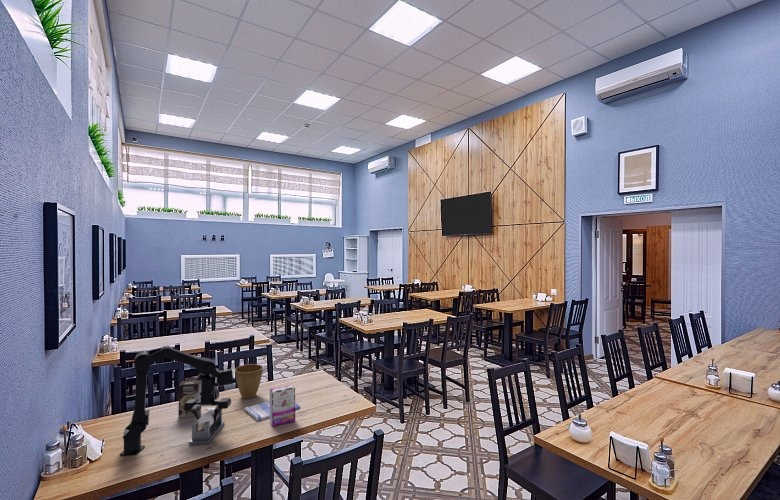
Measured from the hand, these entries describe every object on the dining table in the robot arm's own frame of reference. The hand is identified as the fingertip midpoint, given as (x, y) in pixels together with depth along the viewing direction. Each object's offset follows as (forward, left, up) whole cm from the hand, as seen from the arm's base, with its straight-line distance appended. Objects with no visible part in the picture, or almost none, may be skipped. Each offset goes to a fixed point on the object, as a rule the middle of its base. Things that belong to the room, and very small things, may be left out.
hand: (207, 422), depth 166 cm
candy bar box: (+9, -31, -5) cm, 33 cm away
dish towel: (+24, -23, -6) cm, 34 cm away
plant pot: (+43, -6, -5) cm, 44 cm away
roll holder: (0, 0, -5) cm, 5 cm away
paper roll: (0, 0, +2) cm, 2 cm away
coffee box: (+22, +17, -5) cm, 28 cm away
